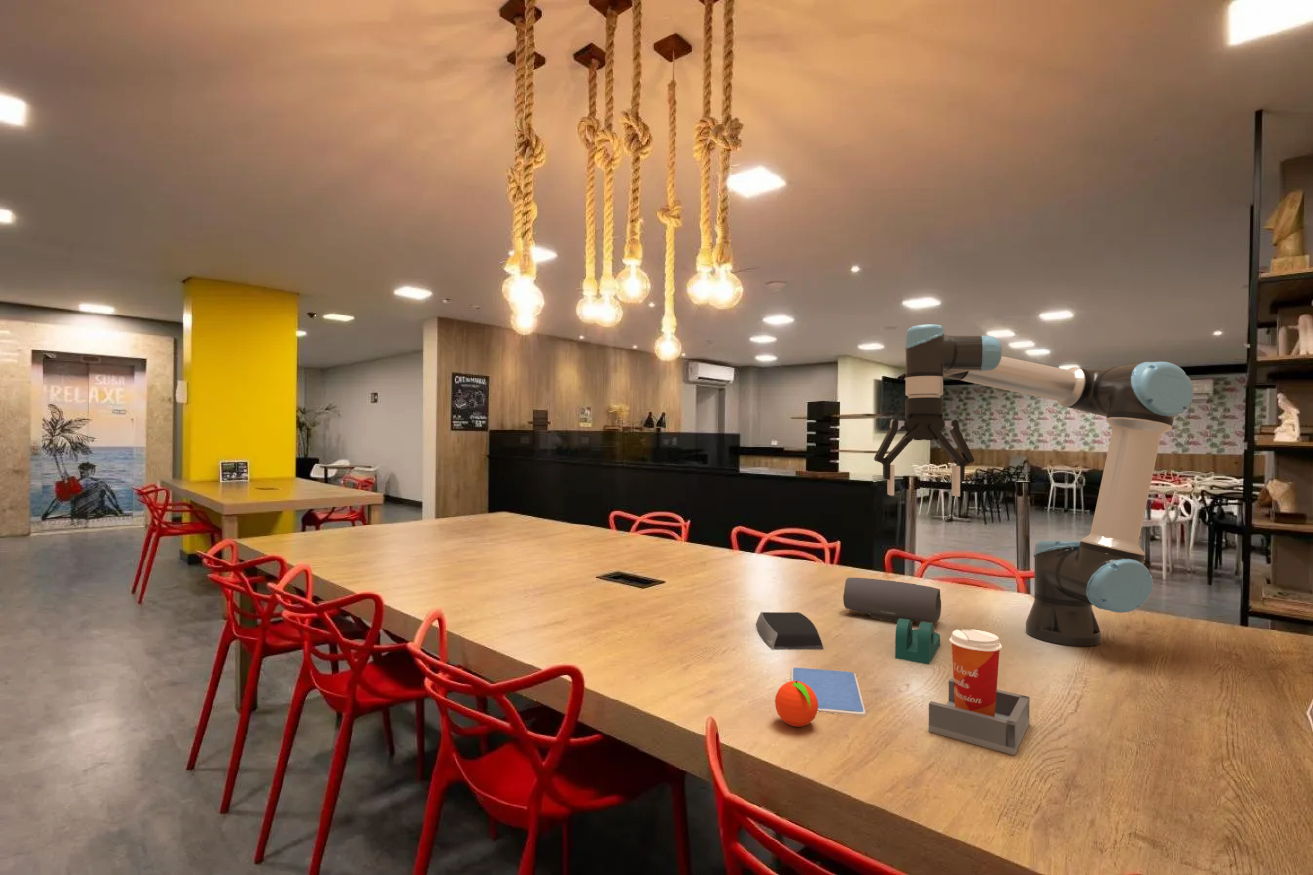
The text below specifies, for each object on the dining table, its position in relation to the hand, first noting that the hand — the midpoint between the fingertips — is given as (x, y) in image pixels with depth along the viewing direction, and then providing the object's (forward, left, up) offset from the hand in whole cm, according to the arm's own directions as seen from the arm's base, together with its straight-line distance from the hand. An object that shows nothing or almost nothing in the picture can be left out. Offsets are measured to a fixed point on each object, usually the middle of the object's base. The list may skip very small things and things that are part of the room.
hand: (923, 495), depth 138 cm
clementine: (+31, +37, -35) cm, 60 cm away
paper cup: (+2, +34, -34) cm, 48 cm away
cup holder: (+2, +34, -35) cm, 49 cm away
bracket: (-1, -4, -35) cm, 35 cm away
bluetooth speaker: (-1, -28, -35) cm, 45 cm away
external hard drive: (+28, -11, -35) cm, 46 cm away
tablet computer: (+24, +22, -36) cm, 48 cm away
